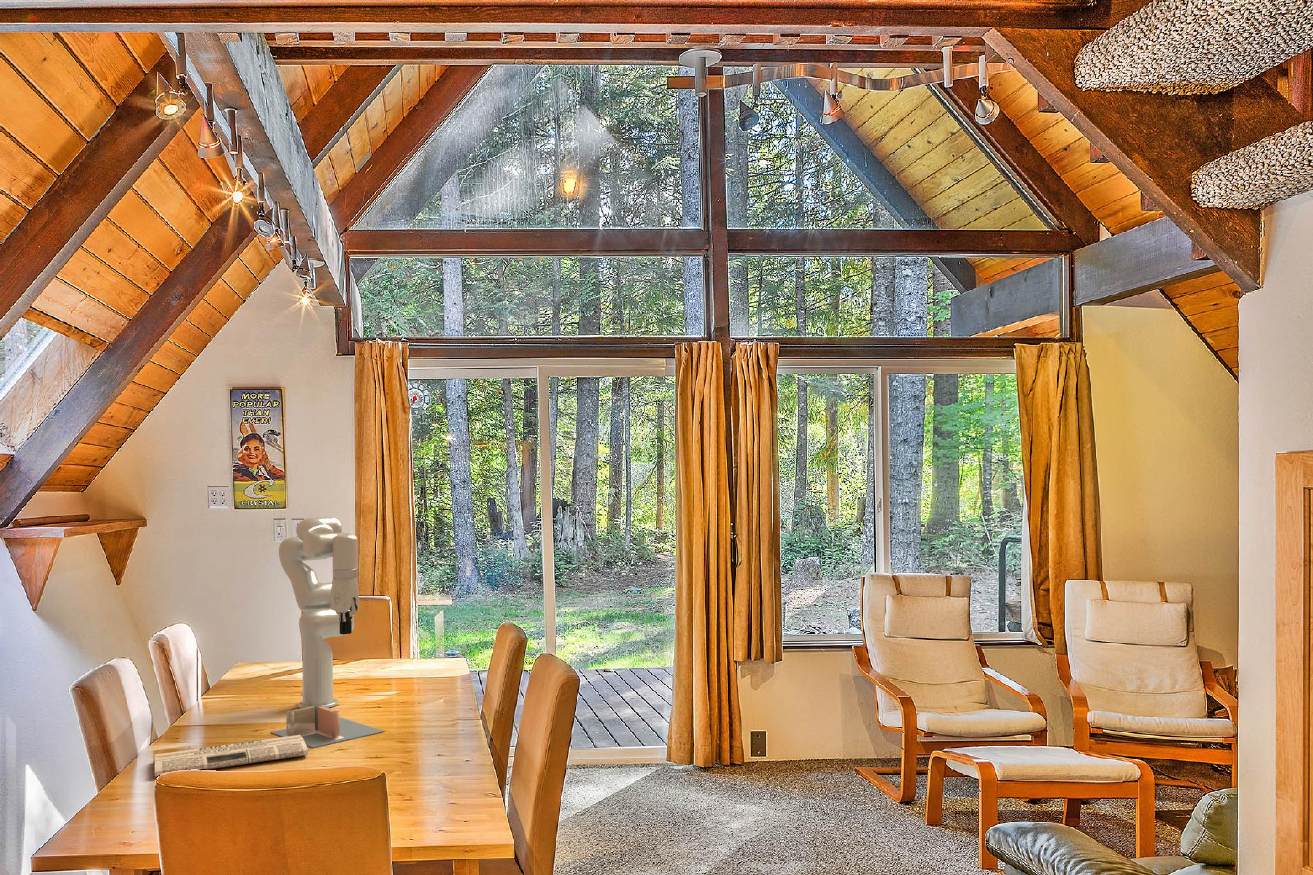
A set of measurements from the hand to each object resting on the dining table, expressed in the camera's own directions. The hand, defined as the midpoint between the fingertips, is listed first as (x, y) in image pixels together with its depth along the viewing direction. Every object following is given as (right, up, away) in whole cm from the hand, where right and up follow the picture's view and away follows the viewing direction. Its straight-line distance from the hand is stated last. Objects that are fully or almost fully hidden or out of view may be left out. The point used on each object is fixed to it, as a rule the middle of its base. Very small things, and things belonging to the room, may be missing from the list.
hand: (345, 633), depth 311 cm
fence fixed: (-7, -26, -19) cm, 33 cm away
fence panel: (0, -25, -19) cm, 32 cm away
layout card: (-1, -26, -16) cm, 30 cm away
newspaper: (-18, -26, -42) cm, 52 cm away
